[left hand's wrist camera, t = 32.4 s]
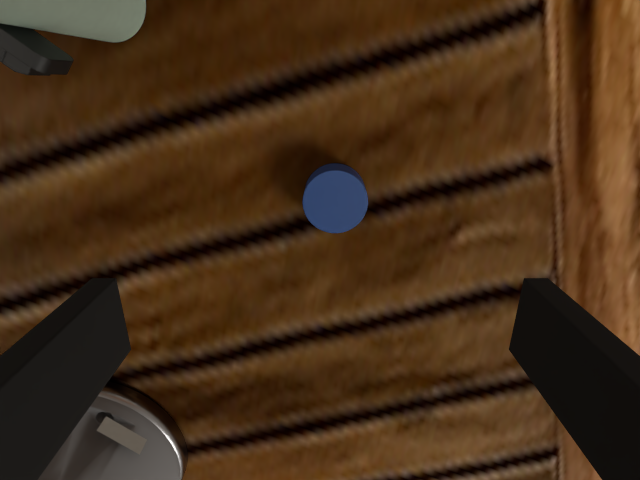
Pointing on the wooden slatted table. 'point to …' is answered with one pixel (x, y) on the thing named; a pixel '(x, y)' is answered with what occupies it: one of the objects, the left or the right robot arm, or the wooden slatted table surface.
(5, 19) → the bottle
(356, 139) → the wooden slatted table surface
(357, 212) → the cap
